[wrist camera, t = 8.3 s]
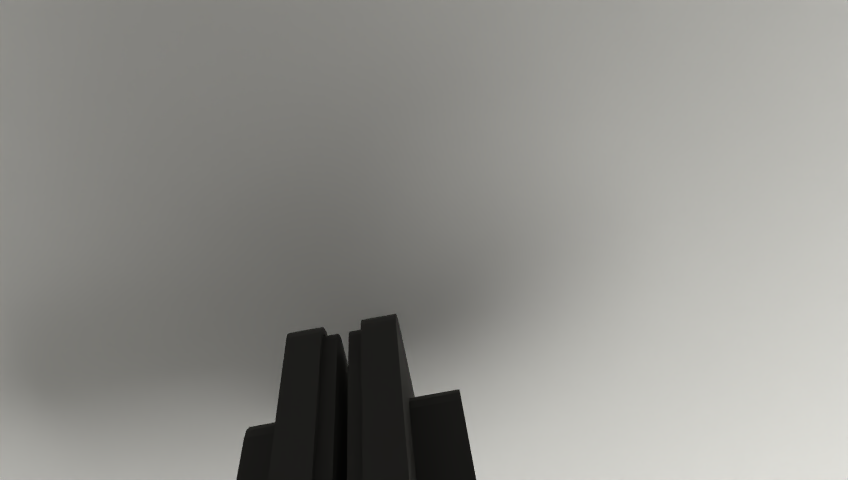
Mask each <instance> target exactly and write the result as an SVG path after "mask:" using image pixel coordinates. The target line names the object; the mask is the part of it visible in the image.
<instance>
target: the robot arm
mask: <svg viewBox="0 0 848 480" xmlns="http://www.w3.org/2000/svg"><path fill="white" fill-rule="evenodd" d="M237 480H476V476H475V471H474V466H473V460H472V455H471V450H470V444H469V439H468V433H467V428H466V423H465V417H464V412H463V406H462V401H461V396H460V390H453V391H448V392H442V393H436V394H431V395H425V396H420V397H415V396H414V392H413V387H412V382H411V378H410V373H409V368H408V364H407V359H406V354H405V350H404V345H403V340H402V336H401V331H400V326H399V322H398V318H397V315H396V314H393V315H387V316H382V317H376V318H370V319H365V320H361V330H357V331H351V332H349V351H348V364H347V360H346V356H345V352H344V348H343V344H342V341H341V338H340V335H339V334H335V335H329V336H327V332H326V330H325V328H324V327H321V328H315V329H310V330H304V331H299V332H293V333H289V334H287V338H286V346H285V353H284V361H283V368H282V376H281V383H280V391H279V398H278V406H277V413H276V421H275V423H270V424H264V425H259V426H253V427H249V428H248V429H247V430H246V433H245V437H244V441H243V447H242V452H241V458H240V464H239V469H238V475H237Z"/></svg>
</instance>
